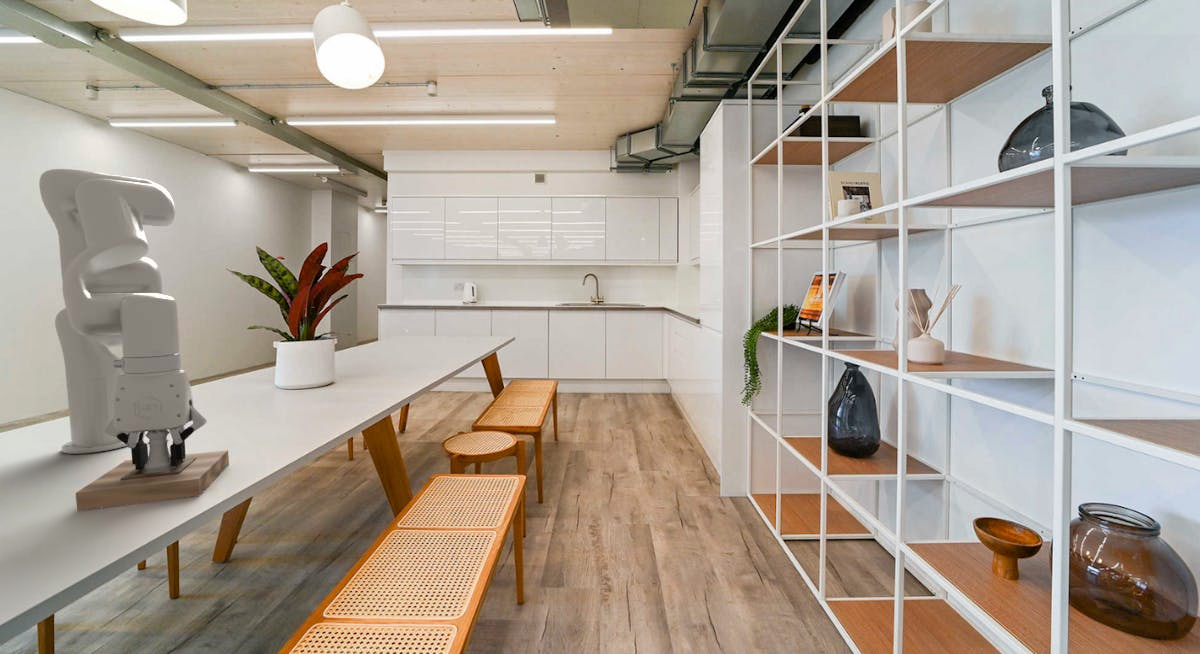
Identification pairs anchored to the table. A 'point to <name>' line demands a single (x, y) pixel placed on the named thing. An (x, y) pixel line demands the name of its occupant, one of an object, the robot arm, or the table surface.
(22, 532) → the table surface
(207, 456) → the walnut board
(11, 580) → the table surface
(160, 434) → the rook chess piece
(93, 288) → the robot arm
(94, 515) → the table surface
